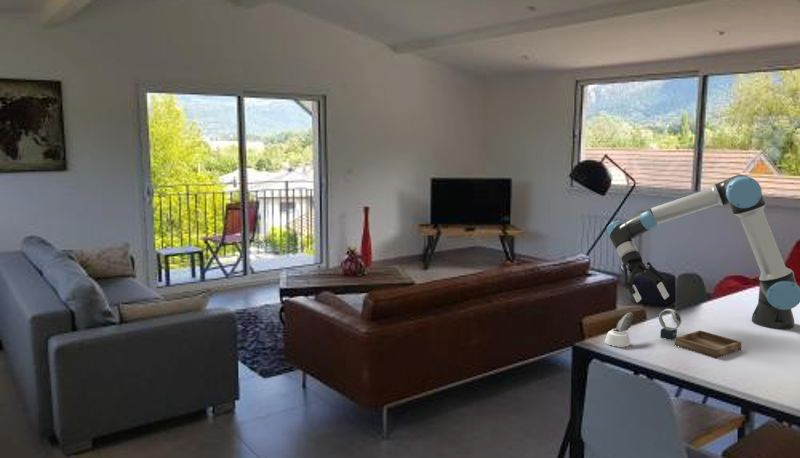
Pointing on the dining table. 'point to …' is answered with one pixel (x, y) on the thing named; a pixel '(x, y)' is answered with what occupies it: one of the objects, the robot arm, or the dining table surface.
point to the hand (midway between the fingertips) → (653, 299)
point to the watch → (667, 331)
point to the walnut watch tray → (708, 344)
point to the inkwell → (620, 332)
